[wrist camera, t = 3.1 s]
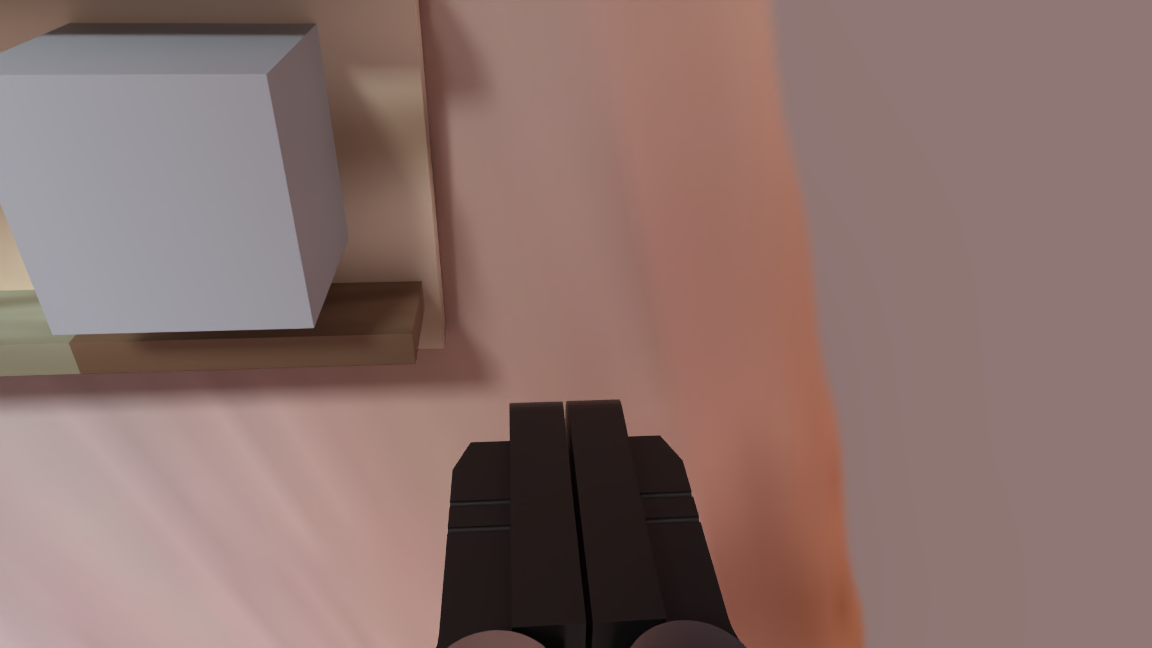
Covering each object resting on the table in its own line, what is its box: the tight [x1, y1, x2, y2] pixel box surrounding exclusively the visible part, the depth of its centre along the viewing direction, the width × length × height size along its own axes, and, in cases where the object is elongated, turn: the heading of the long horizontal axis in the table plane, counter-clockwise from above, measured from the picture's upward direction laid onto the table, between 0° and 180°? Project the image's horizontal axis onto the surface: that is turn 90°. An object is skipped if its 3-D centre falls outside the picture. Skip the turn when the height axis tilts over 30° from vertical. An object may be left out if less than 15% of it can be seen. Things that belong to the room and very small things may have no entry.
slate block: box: [0, 23, 349, 335], centre depth 19 cm, size 6×6×5 cm
